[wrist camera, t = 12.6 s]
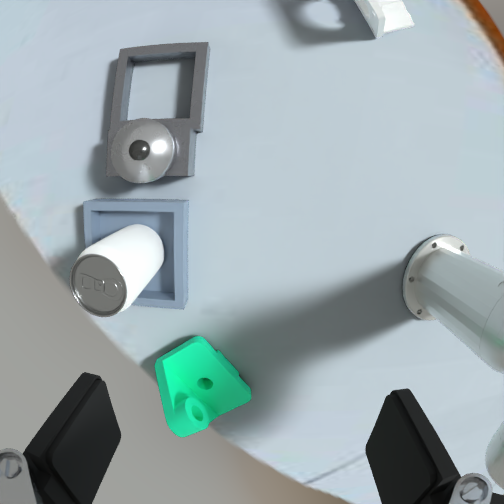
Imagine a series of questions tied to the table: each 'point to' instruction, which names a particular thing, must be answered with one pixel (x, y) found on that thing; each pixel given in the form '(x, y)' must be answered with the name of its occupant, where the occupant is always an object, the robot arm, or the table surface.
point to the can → (116, 270)
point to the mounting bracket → (385, 15)
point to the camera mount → (197, 386)
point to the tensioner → (155, 120)
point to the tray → (169, 230)
